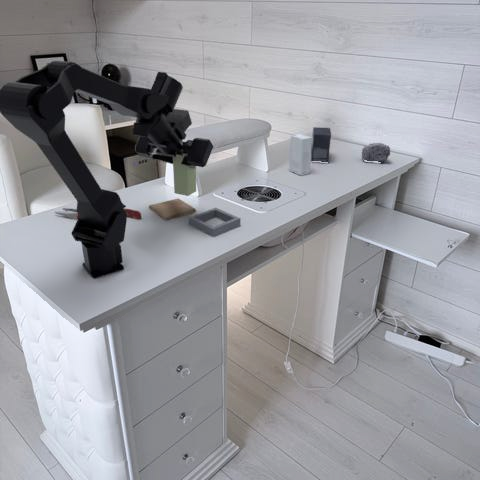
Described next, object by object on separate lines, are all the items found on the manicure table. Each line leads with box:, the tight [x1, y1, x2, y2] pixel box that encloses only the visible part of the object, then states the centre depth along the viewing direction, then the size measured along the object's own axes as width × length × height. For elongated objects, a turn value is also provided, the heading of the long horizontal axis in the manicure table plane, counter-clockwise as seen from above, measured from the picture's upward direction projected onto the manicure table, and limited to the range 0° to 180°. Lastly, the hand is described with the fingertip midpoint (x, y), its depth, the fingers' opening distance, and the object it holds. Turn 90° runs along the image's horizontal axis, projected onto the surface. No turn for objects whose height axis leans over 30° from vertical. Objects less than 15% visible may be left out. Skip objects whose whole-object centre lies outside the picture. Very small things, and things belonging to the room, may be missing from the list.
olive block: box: [172, 155, 197, 197], centre depth 109 cm, size 4×4×10 cm
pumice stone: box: [361, 142, 391, 163], centre depth 158 cm, size 10×8×10 cm
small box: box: [310, 127, 332, 163], centre depth 158 cm, size 11×6×10 cm, turn 172°
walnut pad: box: [148, 198, 197, 221], centre depth 116 cm, size 9×9×1 cm
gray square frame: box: [188, 207, 241, 238], centre depth 108 cm, size 9×9×2 cm
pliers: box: [54, 207, 142, 233], centre depth 109 cm, size 12×21×3 cm, turn 70°
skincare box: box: [288, 133, 312, 176], centre depth 143 cm, size 6×4×12 cm
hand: (187, 165), depth 110 cm, fingers closed on olive block, 4 cm apart
